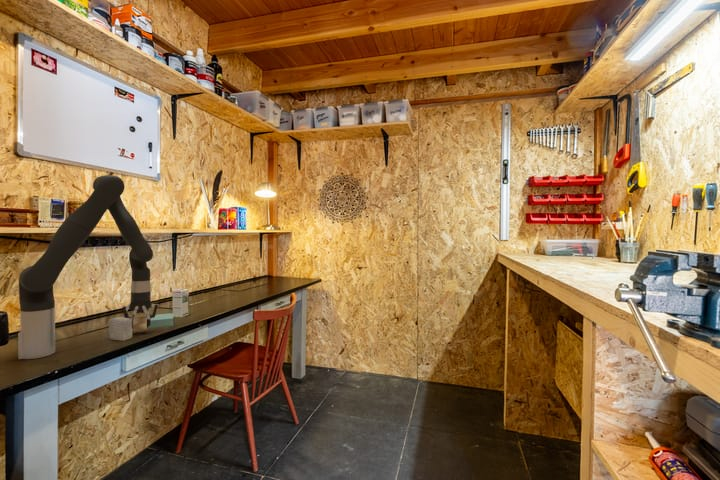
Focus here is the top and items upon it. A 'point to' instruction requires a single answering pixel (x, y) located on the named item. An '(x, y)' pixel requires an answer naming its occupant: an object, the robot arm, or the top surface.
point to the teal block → (161, 320)
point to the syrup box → (180, 302)
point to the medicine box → (120, 328)
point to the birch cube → (140, 323)
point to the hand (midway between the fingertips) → (140, 327)
